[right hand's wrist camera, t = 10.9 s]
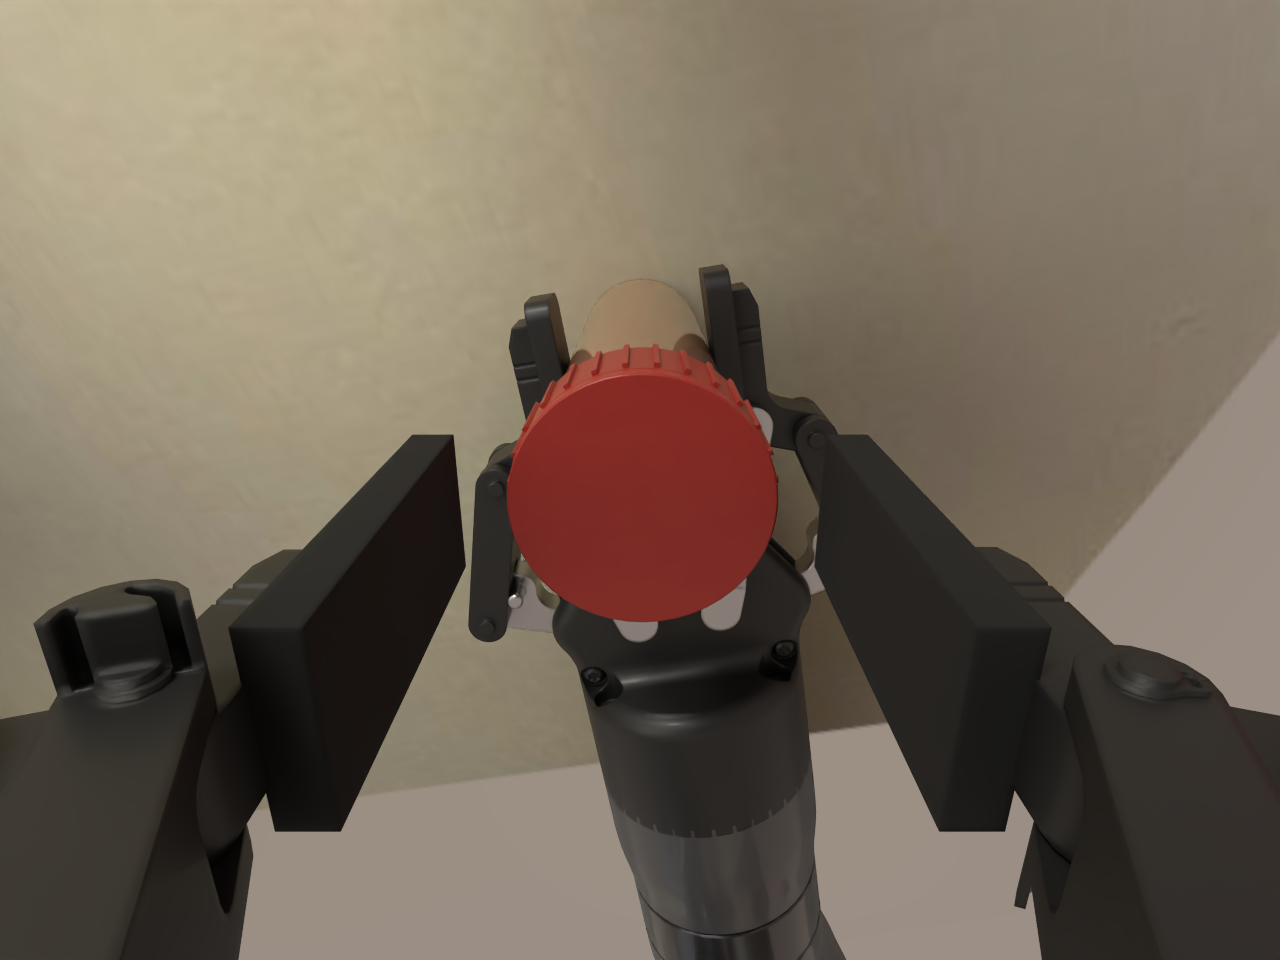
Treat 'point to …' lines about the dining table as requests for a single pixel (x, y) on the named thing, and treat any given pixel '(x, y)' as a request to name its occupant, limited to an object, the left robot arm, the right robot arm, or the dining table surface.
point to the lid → (642, 486)
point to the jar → (642, 322)
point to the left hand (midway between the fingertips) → (625, 286)
